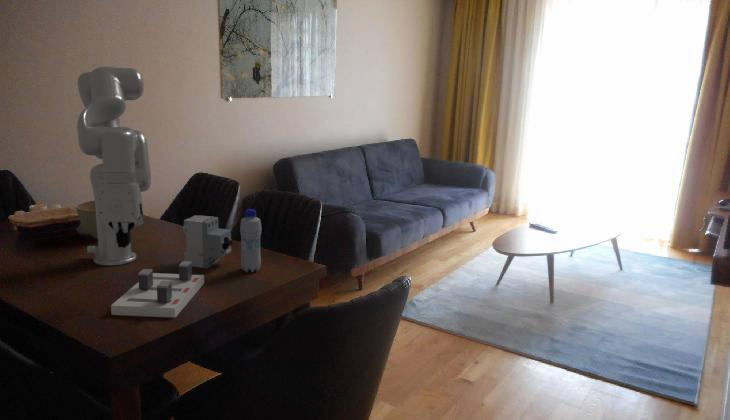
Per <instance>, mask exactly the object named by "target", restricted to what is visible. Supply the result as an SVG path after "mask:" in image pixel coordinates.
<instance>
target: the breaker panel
mask: <svg viewBox="0 0 730 420" xmlns="http://www.w3.org/2000/svg"><path fill="white" fill-rule="evenodd" d="M161 281H171V283H172V298H171V299H170V300H169V301H168V302H167V303H158V302H157V285H158V284H159V283H160V282H161ZM204 284H205V274H204V275H203V274H192V277H191V278H190V279H189V280H188V281H187V280H179V273H160V272H153V286H151V287H150V288H149V289H148V290H143V289H139V281H138V282H137V283H136V284H135V285H133V286H132V287H131V288H130V289H128V290H127V291H126V292H125V293H124V294H123V295H121V296H120V297H119V298H118V299H117V300H116V301H114V302H113V303H112V304H110V310H111V316H128V317H129V316H130V317H131V316H132V317H150V318H151V317H152V318H153V317H155V318H177V316H178V315H179V314H180V312H182V311H183V309H184V308H185V307H186V306H187V305H188V303H189V302H190V301H191V300H192V299H193V297H194V296H195V294H197V292H198V291H200V289H201V288H202V287H203V285H204Z"/></svg>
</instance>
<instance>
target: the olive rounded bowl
mask: <svg viewBox="0 0 730 420" xmlns="http://www.w3.org/2000/svg"><path fill="white" fill-rule="evenodd" d="M75 207H76V213H77V216H78V219H79V221H80V224H81V225H82V227H83V228H84V229H85V230H86V232H87V234H89V235H90V236H91V237H92V238H93V239H95V240H98V236H97V222H96V208H95V200H90V201H85V202H84V201H83V202H80V203H79V204H76V206H75Z"/></svg>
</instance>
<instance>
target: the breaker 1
mask: <svg viewBox="0 0 730 420" xmlns="http://www.w3.org/2000/svg"><path fill="white" fill-rule="evenodd" d="M171 298H172V283H171V281H161V282H160V283H159V284H158V285H157V302H158V303H167V302H168V301H169V300H170V299H171Z"/></svg>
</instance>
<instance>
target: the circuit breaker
mask: <svg viewBox="0 0 730 420" xmlns="http://www.w3.org/2000/svg"><path fill="white" fill-rule="evenodd" d="M182 227H183V234H185V237H186V238H185V239H186V240H185V241H186V250H185V251H183V253H184V255H183V256H184V258H183V259H184V260H183V261H192V267H196V268H204V269H209V268H210V267H212V266H213V265H215V264H216V263H218V262H220V259H222V258H223V257H225V256H226V255H228V254H229V253H231V252H232V245H233V244H234V240H232V230H231V229H227V228H219V217H218V216H210V215H209V216H207V215H197V214H196V215H193V216H191V217H189V218H186V219H184V220H183V226H182Z"/></svg>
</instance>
